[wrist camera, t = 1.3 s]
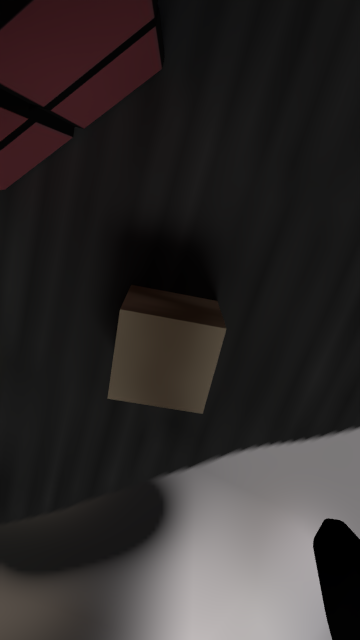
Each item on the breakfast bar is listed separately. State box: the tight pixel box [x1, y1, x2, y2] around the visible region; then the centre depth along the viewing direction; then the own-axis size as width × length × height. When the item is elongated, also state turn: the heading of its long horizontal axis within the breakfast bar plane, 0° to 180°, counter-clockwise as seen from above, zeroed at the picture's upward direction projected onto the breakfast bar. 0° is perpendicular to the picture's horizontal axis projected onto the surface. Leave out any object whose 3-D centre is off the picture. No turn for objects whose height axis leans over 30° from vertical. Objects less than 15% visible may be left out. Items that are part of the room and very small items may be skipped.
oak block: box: [108, 285, 226, 414], centre depth 18 cm, size 5×5×4 cm
